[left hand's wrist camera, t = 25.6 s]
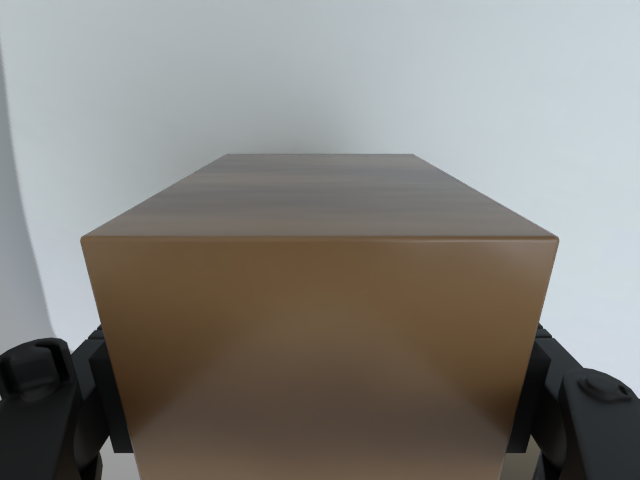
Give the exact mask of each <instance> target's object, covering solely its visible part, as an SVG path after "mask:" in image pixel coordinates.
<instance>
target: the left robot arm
mask: <svg viewBox="0 0 640 480" xmlns="http://www.w3.org/2000/svg"><path fill="white" fill-rule="evenodd" d="M0 396H1V398H2V400H1V401H0V480H101V476H102V467H103V465H102V459H101V455H100V452H99V451H100V449H101V447H102V446H103V444H104V443H105V441H106V440H107V438H108V436H110V439H111V443H112V447H113V450H114V453H134V452H133V448H132V444H131V440H130V436H129V432H128V428H127V424H126V420H125V416H124V412H123V408H122V404H121V400H120V397H119V393H118V389H117V385H116V381H115V377H114V373H113V369H112V365H111V361H110V357H109V353H108V349H107V345H106V341H105V337H104V333H103V329H102V325H100V326H99V327H98V328H97V330H95V331H94V332H93V333H92V334H91V335H90V336H89V337H88V340H85V341H84V342H83V343H82V344H81V345H80V346H79V347H78V348H77V349H76V350H75V351H74V352H73V353H72V354H70V351H69V348H68V344H67V342H65V341H64V340H62V339H58V338H44V339H37V340H33V341H30V342H26V343H23V344H21V345H18V346H16V347H14V348H12V349H10V350H8V351H6V352H5V353H3V354H2V355H0ZM530 435H532V436H533V438H534V440H535V441H536V443H537V444H538V446H539V448H540V449H541V451H540V455H539V458H538V462H537V465H536V468H535V472H534V475H533V478H532V480H640V399H638V397H637V396H636V395H635V393H634V392H633V391H632V390H631V389H630V388H629V387H628V386H626V385H625V384H624V383H622V382H621V381H620V380H618V379H616V378H614V377H612V376H610V375H608V374H606V373H603V372H600V371H597V370H594V369H588V368H583V367H582V366H581V365H580V364H579V363H578V362H577V361H576V360H575V359H574V358H573V357H572V356H571V355H570V354H569V353H568V352H567V351H566V350H565V349H564V348H563V347H562V346H561V345H560V344H559V343H558V342H557V341H556V339H555V338H552V335H551V334H550V333H549V332H548V331H547V330H546V329H543V326H542V325H541V324H540V323H539V324H538V328H537V332H536V336H535V340H534V344H533V347H532V351H531V355H530V359H529V363H528V367H527V371H526V375H525V379H524V383H523V387H522V391H521V395H520V399H519V403H518V407H517V411H516V415H515V419H514V423H513V427H512V431H511V435H510V438H509V442H508V446H507V450H506V453H525V452H526V449H527V446H528V442H529V438H530Z"/></svg>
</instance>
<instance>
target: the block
mask: <svg viewBox="0 0 640 480" xmlns="http://www.w3.org/2000/svg"><path fill="white" fill-rule="evenodd" d="M80 242H81V246H82V250H83V254H84V258H85V262H86V266H87V270H88V274H89V278H90V282H91V286H92V290H93V294H94V298H95V302H96V306H97V310H98V314H99V317H100V321H101V325H102V329H103V333H104V337H105V341H106V345H107V349H108V353H109V357H110V361H111V365H112V369H113V373H114V377H115V381H116V385H117V389H118V393H119V397H120V400H121V404H122V408H123V412H124V416H125V420H126V424H127V428H128V432H129V436H130V440H131V444H132V448H133V452H134V456H135V460H136V464H137V468H138V472H139V475H140V479H141V480H499V478H500V474H501V470H502V466H503V462H504V458H505V454H506V450H507V446H508V442H509V438H510V435H511V431H512V427H513V423H514V419H515V415H516V411H517V407H518V403H519V399H520V395H521V391H522V387H523V383H524V379H525V375H526V371H527V367H528V363H529V359H530V355H531V351H532V347H533V344H534V340H535V336H536V332H537V328H538V324H539V320H540V316H541V312H542V308H543V304H544V300H545V296H546V292H547V288H548V284H549V280H550V276H551V272H552V268H553V264H554V260H555V257H556V253H557V249H558V245H559V238H558V237H557V236H556V235H554V234H552V233H550V232H549V231H547V230H545V229H543V228H542V227H540V226H538V225H536V224H535V223H533V222H531V221H529V220H528V219H526V218H524V217H522V216H521V215H519V214H517V213H515V212H514V211H512V210H510V209H508V208H507V207H505V206H503V205H501V204H500V203H498V202H496V201H494V200H492V199H491V198H489V197H487V196H485V195H484V194H482V193H480V192H478V191H477V190H475V189H473V188H471V187H470V186H468V185H466V184H464V183H463V182H461V181H459V180H457V179H456V178H454V177H452V176H450V175H449V174H447V173H445V172H443V171H442V170H440V169H438V168H436V167H435V166H433V165H431V164H429V163H428V162H426V161H424V160H422V159H421V158H419V157H417V156H415V155H414V154H226V155H224V156H222V157H221V158H219V159H217V160H215V161H214V162H212V163H210V164H208V165H207V166H205V167H203V168H201V169H200V170H198V171H196V172H194V173H193V174H191V175H189V176H187V177H186V178H184V179H182V180H180V181H179V182H177V183H175V184H173V185H172V186H170V187H168V188H166V189H165V190H163V191H161V192H159V193H158V194H156V195H154V196H152V197H151V198H149V199H147V200H145V201H144V202H142V203H140V204H138V205H137V206H135V207H133V208H131V209H130V210H128V211H126V212H124V213H123V214H121V215H119V216H117V217H116V218H114V219H112V220H110V221H109V222H107V223H105V224H103V225H102V226H100V227H98V228H96V229H95V230H93V231H91V232H89V233H88V234H86V235H84V236H82V237H81V240H80Z"/></svg>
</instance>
